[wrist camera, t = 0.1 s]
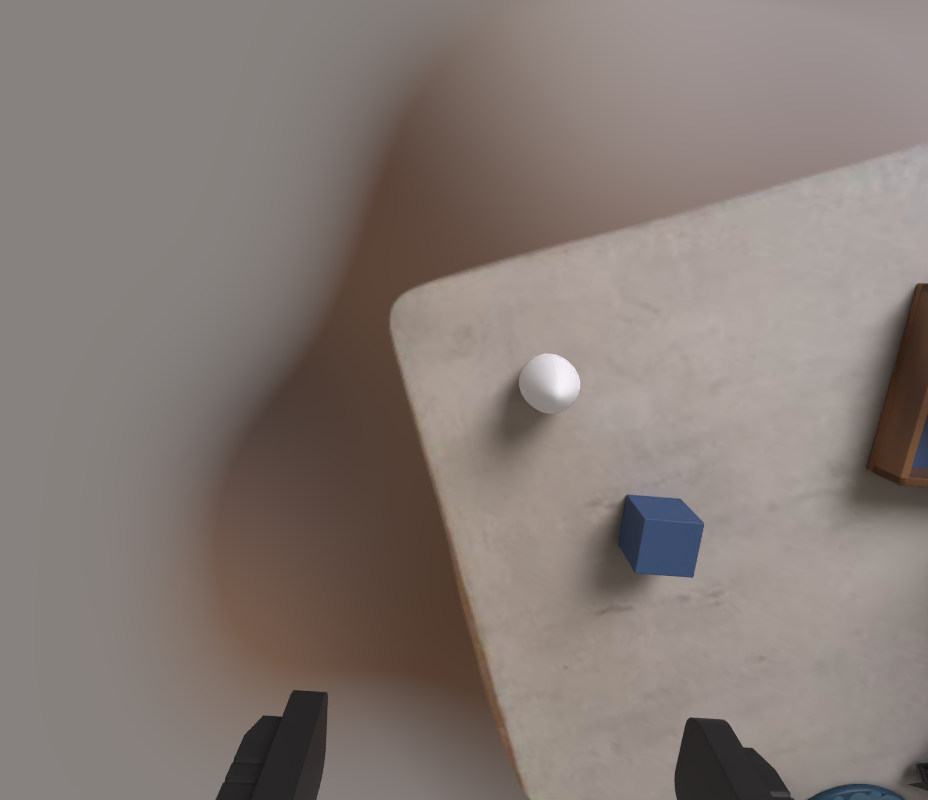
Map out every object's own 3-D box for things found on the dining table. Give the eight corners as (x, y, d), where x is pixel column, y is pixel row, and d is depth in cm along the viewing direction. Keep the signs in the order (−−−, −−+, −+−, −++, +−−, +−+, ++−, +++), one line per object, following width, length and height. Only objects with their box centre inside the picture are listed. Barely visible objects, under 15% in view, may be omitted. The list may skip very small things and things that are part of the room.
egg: (544, 415, 39) (558, 439, 34) (506, 378, 38) (514, 397, 33) (583, 377, 38) (604, 395, 33) (545, 339, 38) (560, 351, 32)
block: (626, 494, 41) (644, 518, 37) (680, 498, 41) (704, 523, 37) (618, 544, 42) (634, 573, 38) (671, 548, 42) (693, 577, 38)
